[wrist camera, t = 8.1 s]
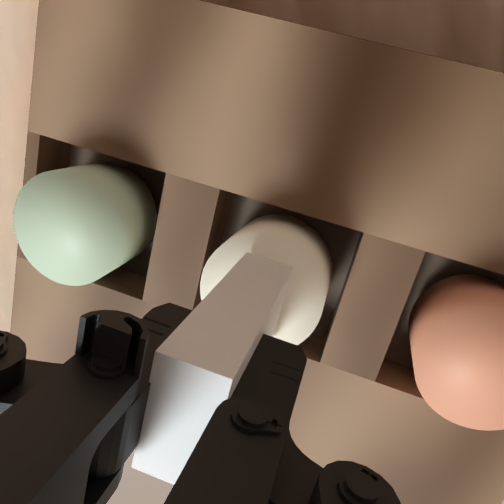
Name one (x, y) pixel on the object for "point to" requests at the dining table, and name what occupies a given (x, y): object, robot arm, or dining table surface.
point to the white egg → (287, 252)
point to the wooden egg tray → (284, 201)
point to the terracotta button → (461, 349)
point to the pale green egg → (84, 221)
